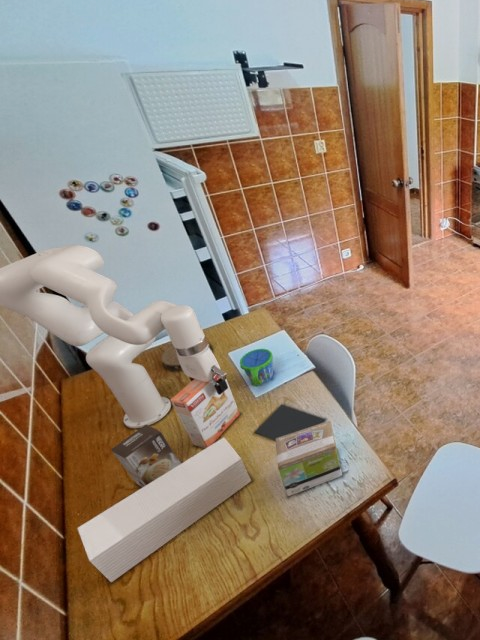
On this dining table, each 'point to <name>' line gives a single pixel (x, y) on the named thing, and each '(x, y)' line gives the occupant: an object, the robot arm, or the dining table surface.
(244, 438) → the dining table surface
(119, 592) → the dining table surface
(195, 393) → the cracker box
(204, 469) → the white long rectangular block
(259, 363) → the snack cup
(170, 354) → the round cork coaster
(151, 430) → the coffee box
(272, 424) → the placemat
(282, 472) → the tea box
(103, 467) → the dining table surface
